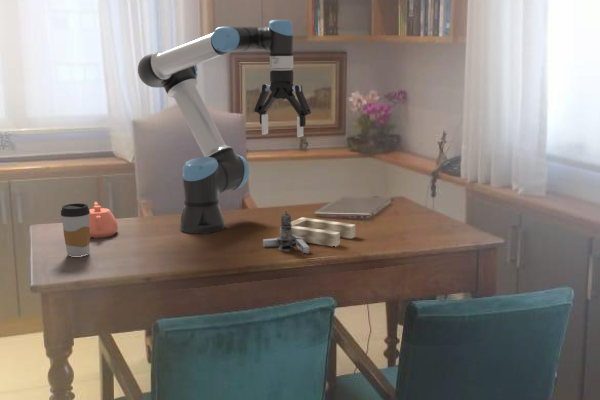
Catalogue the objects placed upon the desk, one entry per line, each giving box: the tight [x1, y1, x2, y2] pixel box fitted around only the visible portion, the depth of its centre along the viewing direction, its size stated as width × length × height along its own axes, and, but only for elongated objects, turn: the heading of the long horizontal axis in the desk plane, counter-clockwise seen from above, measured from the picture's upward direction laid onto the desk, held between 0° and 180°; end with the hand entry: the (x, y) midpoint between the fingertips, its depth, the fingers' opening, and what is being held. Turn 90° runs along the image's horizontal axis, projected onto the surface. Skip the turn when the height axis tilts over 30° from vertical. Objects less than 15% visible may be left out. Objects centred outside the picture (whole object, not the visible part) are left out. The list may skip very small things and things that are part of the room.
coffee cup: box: [60, 202, 91, 256], centre depth 221 cm, size 8×8×15 cm
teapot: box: [89, 201, 119, 239], centre depth 246 cm, size 12×18×10 cm
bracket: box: [279, 216, 356, 248], centre depth 239 cm, size 20×14×4 cm
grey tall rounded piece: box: [276, 210, 296, 252], centre depth 226 cm, size 6×6×12 cm
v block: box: [262, 236, 310, 254], centre depth 229 cm, size 10×17×2 cm, turn 59°
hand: (282, 135), depth 243 cm, fingers open, 13 cm apart
